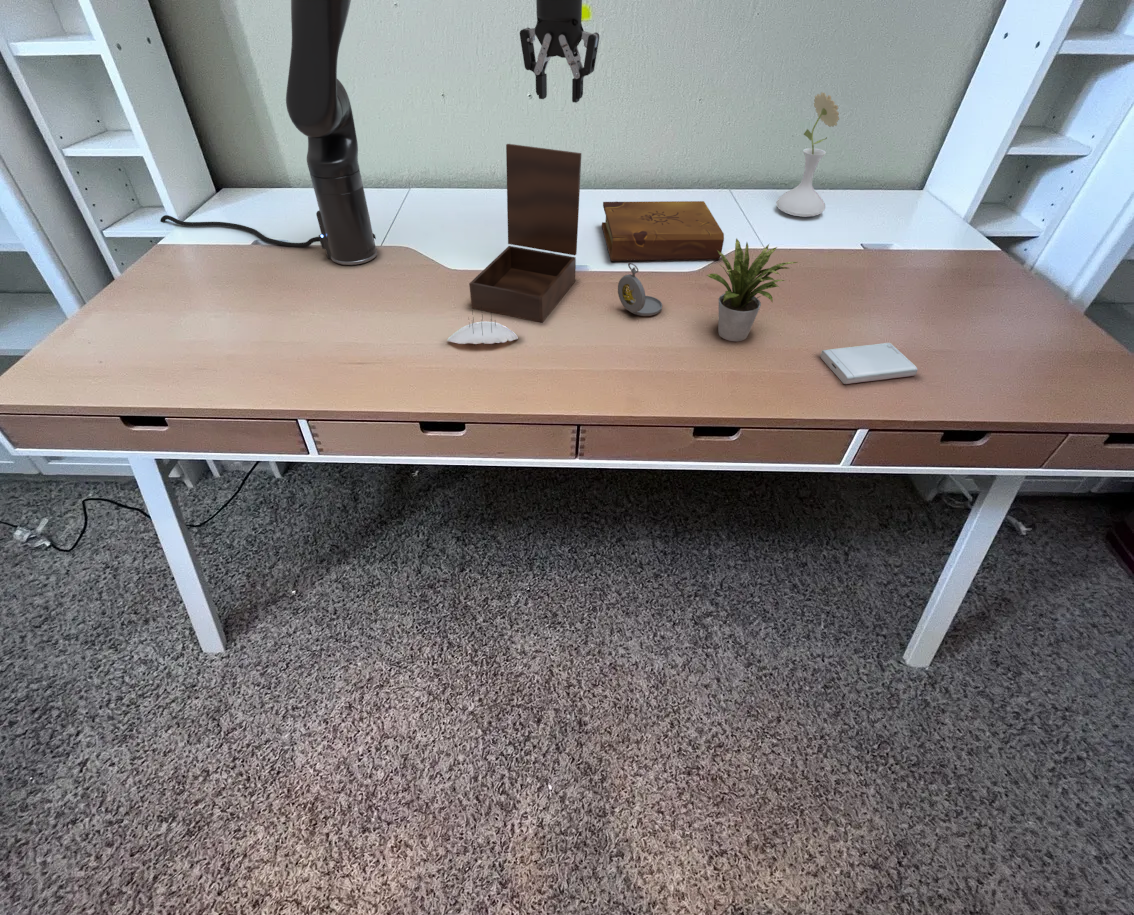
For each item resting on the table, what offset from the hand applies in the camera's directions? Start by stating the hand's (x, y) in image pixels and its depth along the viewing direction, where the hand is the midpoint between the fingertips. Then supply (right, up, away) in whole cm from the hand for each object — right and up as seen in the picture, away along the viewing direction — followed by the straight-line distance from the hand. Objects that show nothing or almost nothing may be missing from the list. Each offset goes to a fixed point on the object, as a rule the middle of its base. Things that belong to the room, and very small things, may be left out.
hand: (559, 99), depth 112 cm
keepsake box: (-7, -33, +8) cm, 35 cm away
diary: (+22, -17, +25) cm, 38 cm away
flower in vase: (+58, -4, +40) cm, 70 cm away
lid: (-3, -17, +4) cm, 18 cm away
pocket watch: (+15, -37, +4) cm, 40 cm away
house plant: (+31, -44, -3) cm, 53 cm away
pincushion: (-13, -45, -5) cm, 47 cm away
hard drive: (+51, -50, -9) cm, 72 cm away
